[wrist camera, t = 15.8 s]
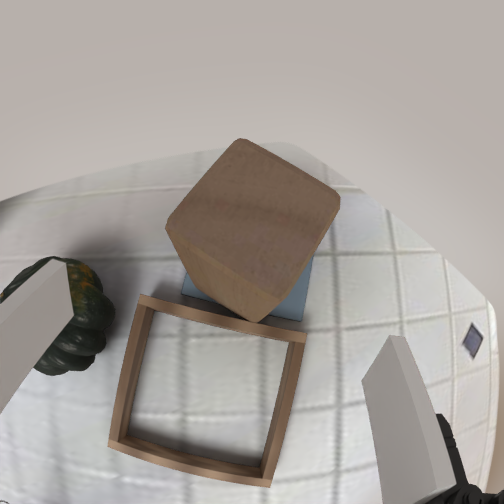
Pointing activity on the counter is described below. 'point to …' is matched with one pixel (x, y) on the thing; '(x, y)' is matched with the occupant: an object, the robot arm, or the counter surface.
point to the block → (251, 228)
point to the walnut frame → (184, 460)
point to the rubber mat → (286, 309)
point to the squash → (73, 319)
